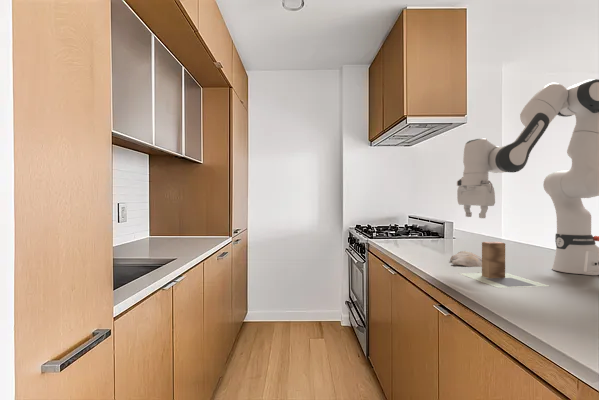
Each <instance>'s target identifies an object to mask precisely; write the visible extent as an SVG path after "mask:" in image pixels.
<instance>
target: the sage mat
mask: <svg viewBox="0 0 599 400" xmlns="http://www.w3.org/2000/svg"><path fill="white" fill-rule="evenodd" d="M458 274H459V275H461V276H464V277H467V278H470V279H472V280H475V281H478V282H481V283H483V284H486V285H489V286H491V287H495V288H497V289H505V288H506V289H508V288H509V289H510V288H511V289H512V288H531V287H532V288H536V287H537V288H539V287H540V288H541V287H550V285H549V284H545V283H542V282H538V281H534V280H532V279H528V278H525V277H523V276H518V275H514V274H511V273H508V272H505V278H487V277H484V276H482V272H464V273H463V272H462V273H459V272H458Z"/></svg>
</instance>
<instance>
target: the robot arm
mask: <svg viewBox="0 0 599 400" xmlns="http://www.w3.org/2000/svg"><path fill="white" fill-rule="evenodd" d="M556 116H558V117H563V118H566V117H572V116H575V125H574V128H573V131H572V134H571V137H570V140H569V143H568V147H567V150H566V153H567V156H568V157H569V158H570V159H571V167H570V169H567V170H566V169H564V170H557V171H555V172H552V173H549V174H548V175H547V176H545V177H544V181H543V182H542V183H543V189H544V191H545V192H546V194H547V195H548V196H549V197H550V198H551V200H552V203H553V207H554V209H555V214H556V233H555V240H554V241H555V246H556V247H555V255H554V259H553V263H552V267H551V270H553V271H556V272H561V273H567V274H575V275H576V274H577V275H578V274H579V275H586V276H599V246H597V244H596V242H599V236H598V235H595V236H593V235H592V214H591V212H590V211H588V209H586V207H585V206H584V204H583V201H582V199H591V198H595V197H598V196H599V79H598V78H597V79H596V78H594V79H593V78H592V79H587V80H584V81H582V82H579V83H577V84H573V85H572V86H569V87H567V88H566V87H565V86H564V85H563V84H560V83H557V82H551V83H548V84H546V85H545V86H543V87H542V88H541V89H540V90H539V91H537V92H536V93H535V94H534V95H533V96H532V97H531V98H530V100H529V101H528V102H527V103H526V104H525V105H524V107H523V109H522V110H521V112H520V113H519V119H520V121H521V123H522V125H523V126H524V128H523V130H522V131H521V132H520V133H519V135H518V136H517V138H516V139H515V140H514V141H513V142H511V143H509V144H506V145H504V146H503V145H502V146H498V145H495V144H493V143H491V142H490V141H489V140H488V139H487V138H485V137H481V138H480V137H479V138H475V139H471V140H468V141H467V142H466V143H465V145H464V149H463V160H462V161H463V166H464V167H463V172H462V173H463V174H462V177H461V178H459V179H458V180H457V181H456V186H457V197H456V198H457V199H456V200H457V203H458V205H459V206H460V205H461V206H463V209H464V212H465V217H466V218H471V217H472V214H473V213H472V212H471V206H477V207H478V206H480V213H478V218H479V219H486V217H487V216H486V215H487V212H488V209H489V207H493V206H495V203H496V192H495V188H494V186H493V183H492V182H491V180H489V173H493V174H497V173H498V174H501V173H518V172H520V171H522V169H524V168H525V166H526V165H527V163H528V160H529V157H530V155H531V151H532V150H533V149H534V147H535V146H536V144H538V142H539V140H540V139H541V138H542V136H543V134H544V133H545V132H546V130H547V129H548V127H549V125H550V124H551V122H552V121H553V120H554V119H555V118H556Z"/></svg>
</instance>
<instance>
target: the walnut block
mask: <svg viewBox="0 0 599 400" xmlns="http://www.w3.org/2000/svg"><path fill="white" fill-rule="evenodd" d="M481 258H482V267H481V273H482V276H484V277H487V278H505V273H506V243H504V242H501V241H482V242H481Z"/></svg>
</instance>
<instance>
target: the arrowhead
mask: <svg viewBox="0 0 599 400" xmlns="http://www.w3.org/2000/svg"><path fill="white" fill-rule="evenodd" d="M450 262H451V264H452V265H455V266H459V267H460V266H461V267H467V268H482V256H481V257H480V256H478V255H477V254H474V253H473V252H470V251H466V250H462V251H458V252H457V253H455V254H453V255H452V256H451V257H450Z"/></svg>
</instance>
